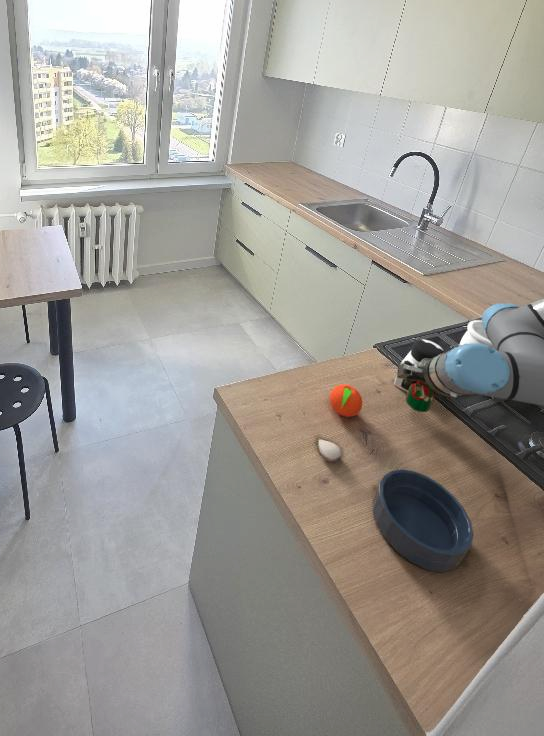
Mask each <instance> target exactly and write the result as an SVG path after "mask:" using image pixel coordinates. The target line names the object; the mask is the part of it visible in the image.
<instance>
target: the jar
mask: <svg viewBox="0 0 544 736" xmlns="http://www.w3.org/2000/svg"><path fill="white" fill-rule="evenodd" d="M466 326H467V327H466V328H467V330H466V332H465V333H464V334H463V335H462V337H461V340H460V342H459V345H464V344H471V343H479V344H484V345H487V346H489V347H491V348H493V349H495V348H494V346H493V344H492V343H491V341H490V340H489V339H488V338H487V334H486V332H485V329H484V327H483V324H482V319H474V320H470V321H469V322H468V323H467V325H466Z"/></svg>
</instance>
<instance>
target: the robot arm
mask: <svg viewBox="0 0 544 736" xmlns="http://www.w3.org/2000/svg"><path fill="white" fill-rule="evenodd" d="M481 320H482V324H483V327H484V329H485V332H486V334H487V338H488V339H489V340H490V341H491V343H492V344H493V346H494V348H495V349H493V348H491V347H489V346H487V345H484V344H479V343H471V344H464V345H460V344H458V345H456V346H455V347H453V348H451V349H450V350H448V351H444V352H445V353H442V354H440V355H438V356H436V357H434V358H432V359H430V360H429V361H428V362H427V363H426V364H425V365H420V366H419V367H414V364H412V363H411V362H409V361H404V364H401V363H400V364H399V365H398V366H397V372H396V376H397V377H398V378H402V379H404V384H405V385H409V384H413V383H414V381H418V382H422V383H425V384H428V385H429V386H430V388H431V389H433V390H434V391H435V392H437V393H436V395H437V394H439V395H441V396H445V397H447V398H453V399H457V397H468V396H476V397H477V396H483V397H484V396H485V397H490V398H497V399H503V400H508V401H516V402H522V403H526V404H532V405H537V406H543V407H544V298H541V299H539V300H536V301H534V302H531V303H529V304H527V305H522V306H521V307H520V306H518V305H516V304H514V303H511V302H510V303H508V302H506V303H496V304H493V305H491V306H489V307H488V308H487V309H485V310H484V312H483V314H482V316H481Z"/></svg>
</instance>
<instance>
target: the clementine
mask: <svg viewBox="0 0 544 736" xmlns="http://www.w3.org/2000/svg"><path fill="white" fill-rule="evenodd" d="M329 402H330V405H331V407H332V409H333V410H334V411H335V412H336V413H337V414H339V415H340V416H343V417H347V418H351V417H355V416H356V415H358V414H359V413H360V412H361V411H362V408H363V399H362V395H361V394H360V392H359V390H357V389H356V388H355V387H354V386H352V385H350V384H345V383H344V384H338V385H336V386H334V387H333V388H332V390H331V392H330V394H329Z"/></svg>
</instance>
